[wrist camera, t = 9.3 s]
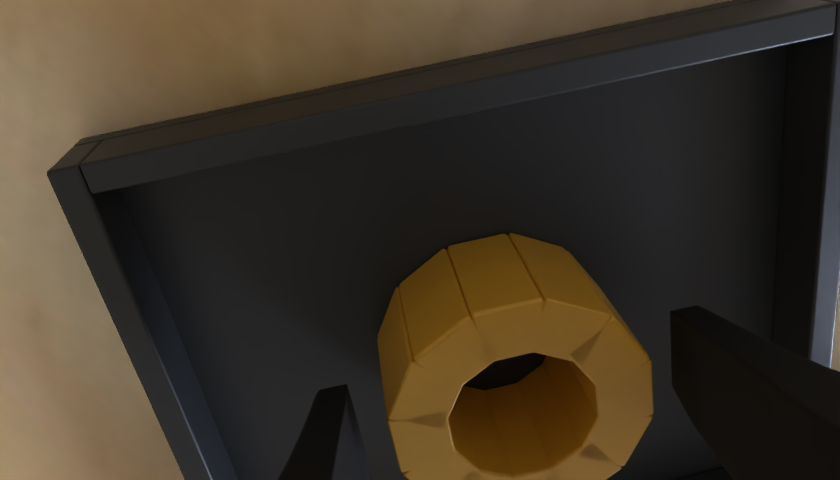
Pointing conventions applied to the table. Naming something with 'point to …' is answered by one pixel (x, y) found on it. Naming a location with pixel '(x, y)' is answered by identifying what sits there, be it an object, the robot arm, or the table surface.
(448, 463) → the mustard ring
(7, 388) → the table surface
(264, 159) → the tray
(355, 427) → the robot arm
